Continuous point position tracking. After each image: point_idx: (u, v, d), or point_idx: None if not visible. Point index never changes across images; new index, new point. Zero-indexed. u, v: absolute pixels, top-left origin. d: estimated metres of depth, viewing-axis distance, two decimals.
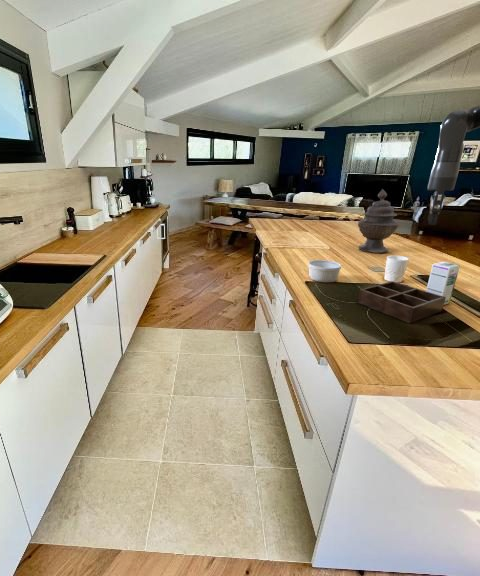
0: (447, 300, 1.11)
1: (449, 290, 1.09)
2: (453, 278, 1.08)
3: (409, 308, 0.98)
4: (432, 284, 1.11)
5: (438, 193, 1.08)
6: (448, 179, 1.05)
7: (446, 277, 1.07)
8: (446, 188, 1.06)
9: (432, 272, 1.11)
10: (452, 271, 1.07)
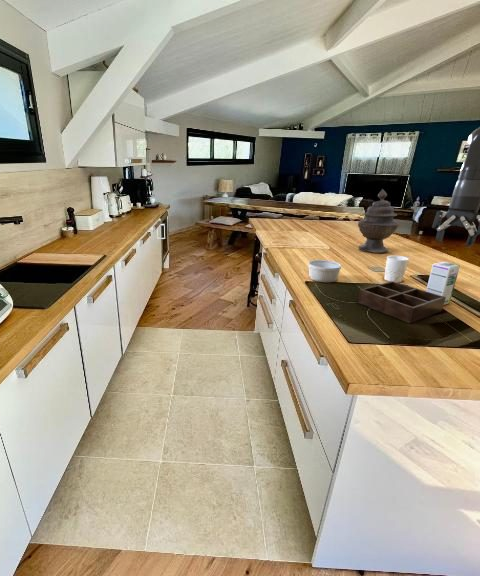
0: (447, 300, 1.11)
1: (449, 290, 1.09)
2: (453, 278, 1.08)
3: (409, 308, 0.98)
4: (432, 284, 1.11)
5: (475, 213, 0.99)
6: None
7: (446, 277, 1.07)
8: None
9: (432, 272, 1.11)
10: (452, 271, 1.07)
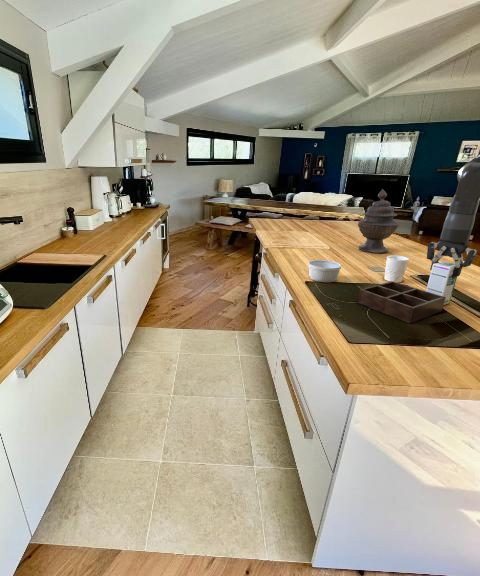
0: (447, 300, 1.11)
1: (449, 290, 1.09)
2: (453, 278, 1.08)
3: (409, 308, 0.98)
4: (433, 284, 1.11)
5: None
6: None
7: (446, 277, 1.07)
8: (468, 240, 1.03)
9: (432, 272, 1.11)
10: (452, 271, 1.06)
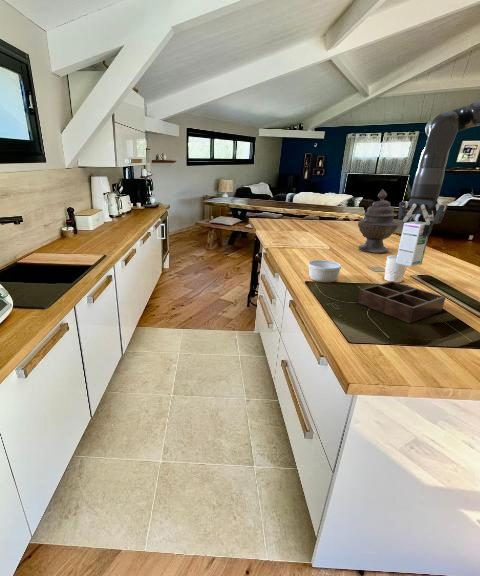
0: (419, 261, 1.08)
1: (421, 250, 1.06)
2: (424, 237, 1.05)
3: (409, 308, 0.98)
4: (404, 244, 1.08)
5: (435, 201, 0.99)
6: None
7: (417, 236, 1.04)
8: (438, 195, 1.00)
9: (403, 232, 1.07)
10: (423, 229, 1.03)
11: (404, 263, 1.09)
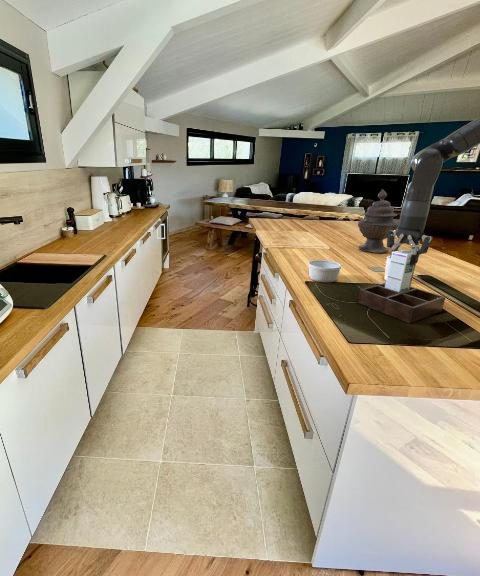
0: (406, 288, 1.12)
1: (408, 278, 1.10)
2: (411, 266, 1.09)
3: (409, 308, 0.98)
4: (392, 272, 1.12)
5: (421, 232, 1.03)
6: (426, 218, 1.03)
7: (404, 264, 1.07)
8: (424, 227, 1.04)
9: (391, 260, 1.11)
10: (410, 258, 1.07)
11: None
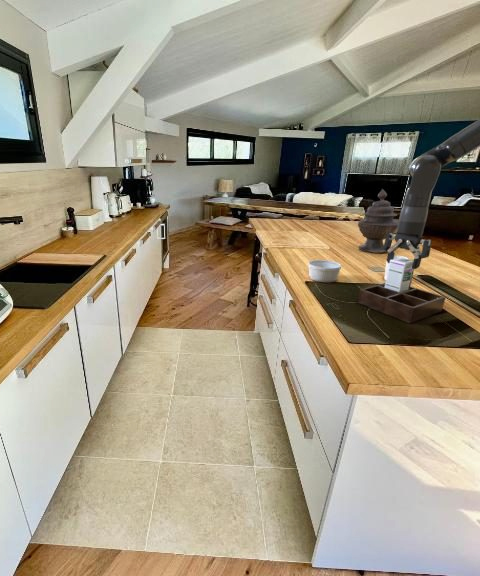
0: None
1: (406, 286, 1.11)
2: (409, 274, 1.10)
3: (409, 308, 0.98)
4: (390, 280, 1.13)
5: (419, 238, 1.04)
6: None
7: (402, 273, 1.09)
8: (422, 232, 1.04)
9: (389, 268, 1.12)
10: (408, 267, 1.08)
11: None
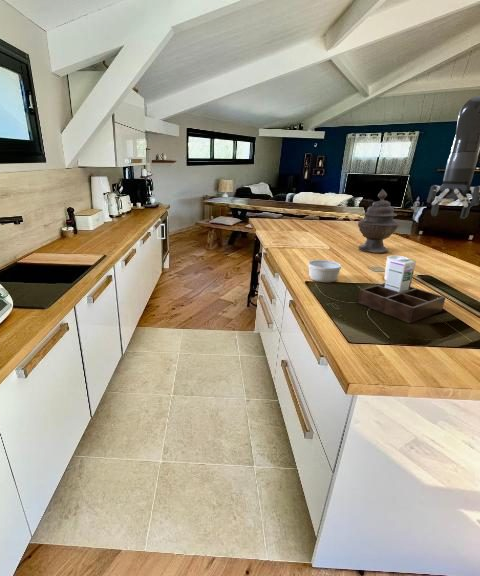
0: None
1: (406, 286, 1.11)
2: (409, 274, 1.10)
3: (409, 308, 0.98)
4: (390, 280, 1.13)
5: (468, 185, 1.01)
6: (474, 170, 1.01)
7: (402, 273, 1.09)
8: (471, 179, 1.02)
9: (389, 268, 1.12)
10: (408, 267, 1.08)
11: None
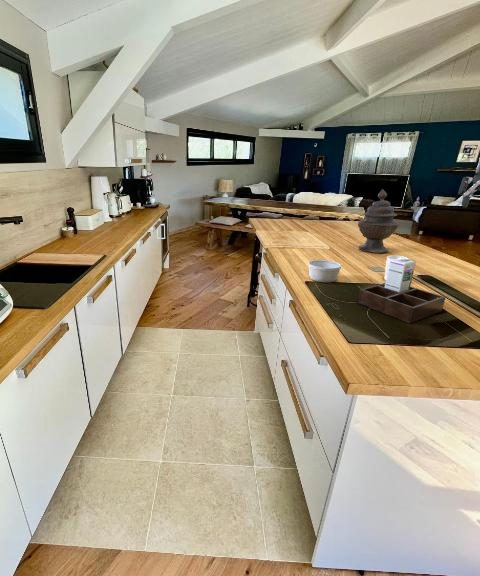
0: None
1: (406, 286, 1.11)
2: (409, 274, 1.10)
3: (409, 308, 0.98)
4: (390, 280, 1.13)
5: None
6: None
7: (402, 273, 1.09)
8: None
9: (389, 268, 1.12)
10: (408, 267, 1.08)
11: None
